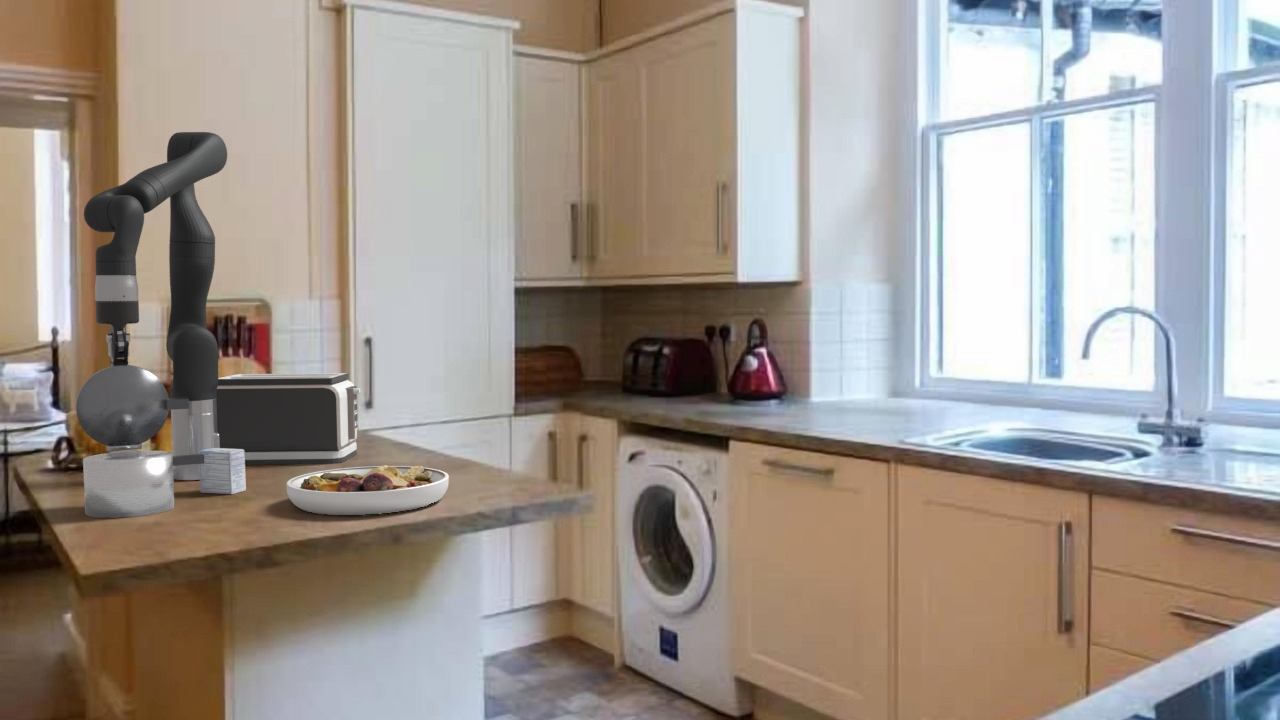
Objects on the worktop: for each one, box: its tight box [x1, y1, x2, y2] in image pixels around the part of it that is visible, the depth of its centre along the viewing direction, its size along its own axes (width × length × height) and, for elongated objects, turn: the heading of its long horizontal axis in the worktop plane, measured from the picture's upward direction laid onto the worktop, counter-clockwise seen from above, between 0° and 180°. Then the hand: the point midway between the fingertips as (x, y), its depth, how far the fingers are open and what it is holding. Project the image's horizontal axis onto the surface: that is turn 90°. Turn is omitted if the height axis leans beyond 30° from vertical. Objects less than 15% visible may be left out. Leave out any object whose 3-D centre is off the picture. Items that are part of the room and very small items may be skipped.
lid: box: [75, 364, 189, 452], centre depth 205 cm, size 20×17×3 cm
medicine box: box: [199, 448, 247, 495], centre depth 217 cm, size 8×4×9 cm, turn 71°
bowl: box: [286, 464, 450, 516], centre depth 204 cm, size 30×30×8 cm
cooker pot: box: [82, 449, 204, 519], centre depth 201 cm, size 20×17×10 cm
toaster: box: [216, 372, 361, 466], centre depth 261 cm, size 19×35×20 cm, turn 92°
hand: (119, 388), depth 208 cm, fingers closed
